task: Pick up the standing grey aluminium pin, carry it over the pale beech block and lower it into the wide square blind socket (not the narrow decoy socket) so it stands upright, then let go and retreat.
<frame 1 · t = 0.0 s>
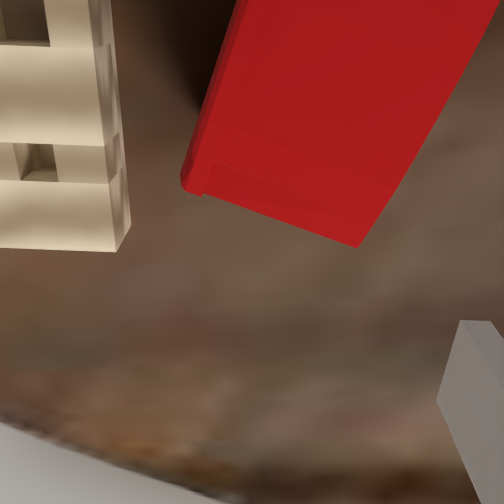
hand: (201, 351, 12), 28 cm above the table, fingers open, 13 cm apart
fire alarm: (306, 44, 35), on the table
bore block: (51, 78, 36), on the table
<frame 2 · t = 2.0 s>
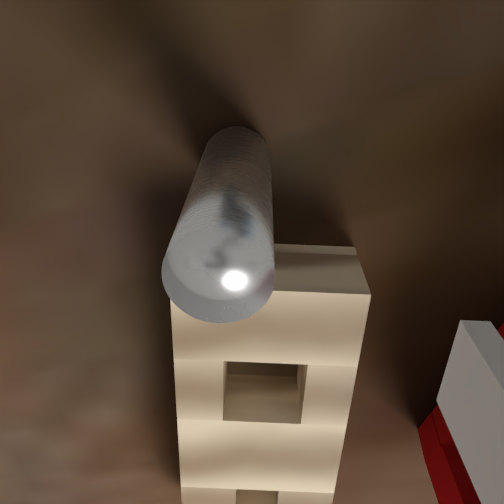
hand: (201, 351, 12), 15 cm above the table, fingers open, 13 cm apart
pin: (237, 159, 26), on the table
bore block: (260, 393, 34), on the table
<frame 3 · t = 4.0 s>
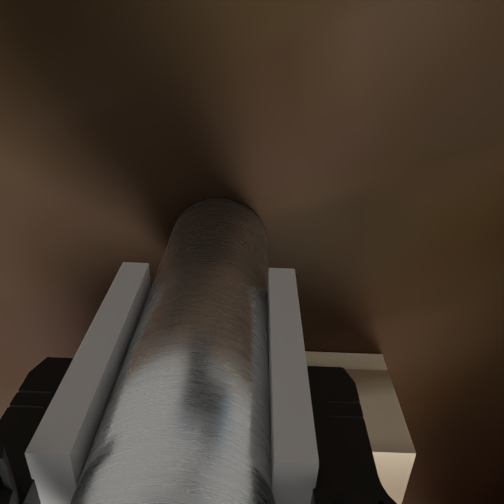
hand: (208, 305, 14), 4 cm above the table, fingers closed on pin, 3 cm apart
pin: (219, 243, 18), on the table, touching gripper
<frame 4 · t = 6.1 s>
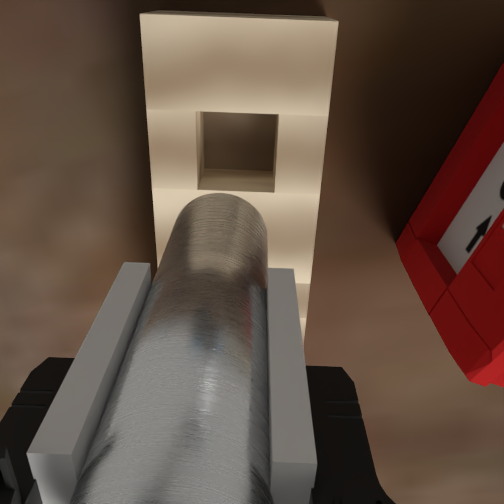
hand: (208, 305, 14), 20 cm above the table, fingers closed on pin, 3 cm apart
pin: (220, 236, 18), point 15 cm above the table, touching gripper
bore block: (238, 200, 34), on the table
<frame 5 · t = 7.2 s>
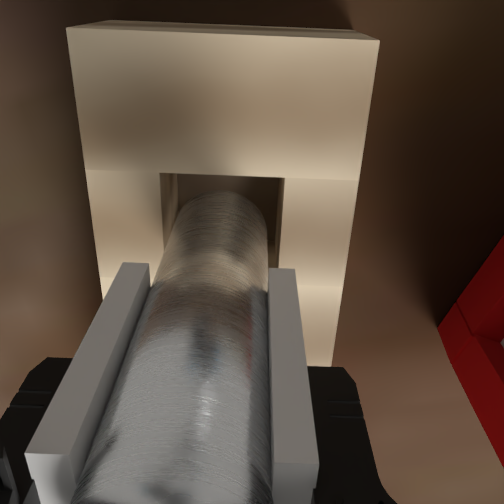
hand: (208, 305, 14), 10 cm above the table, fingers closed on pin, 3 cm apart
pin: (220, 233, 19), point 5 cm above the table, touching gripper
bore block: (228, 274, 25), on the table
when the fingers open (7 cm above the table, at t = 8.3 s): pin drops 1 cm, resting on bore block.
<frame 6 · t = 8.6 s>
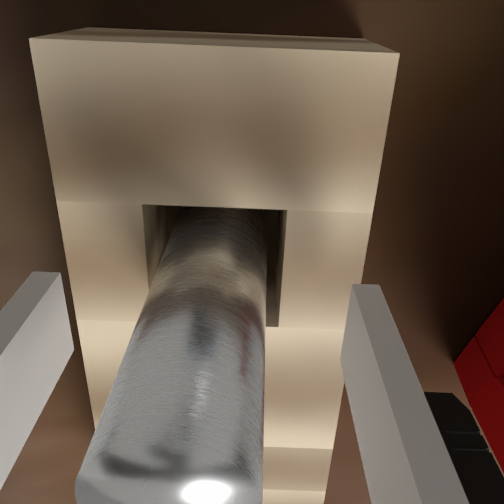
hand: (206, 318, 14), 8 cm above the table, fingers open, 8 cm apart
pin: (223, 221, 20), point 1 cm above the table, touching bore block
bore block: (223, 306, 23), on the table
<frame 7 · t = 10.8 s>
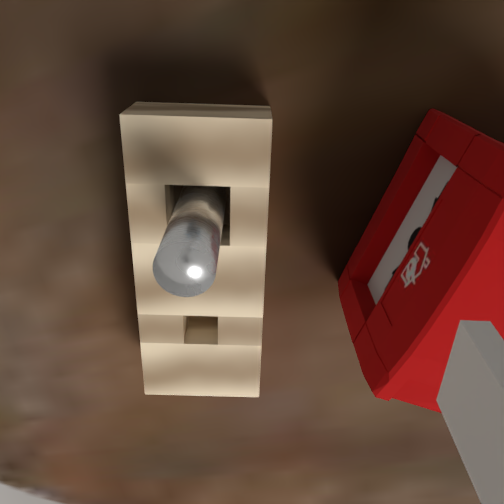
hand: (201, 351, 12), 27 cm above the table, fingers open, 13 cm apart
pin: (203, 197, 38), point 1 cm above the table, touching bore block
fire alarm: (431, 221, 40), on the table
bore block: (205, 248, 41), on the table
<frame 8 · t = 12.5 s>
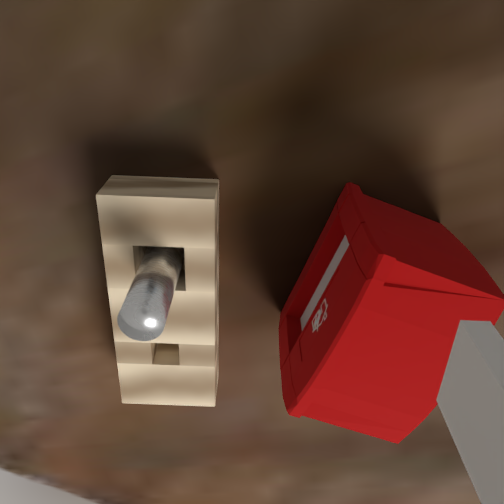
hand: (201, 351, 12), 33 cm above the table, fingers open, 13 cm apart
pin: (167, 248, 47), point 1 cm above the table, touching bore block
fire alarm: (354, 266, 49), on the table
bore block: (171, 285, 50), on the table
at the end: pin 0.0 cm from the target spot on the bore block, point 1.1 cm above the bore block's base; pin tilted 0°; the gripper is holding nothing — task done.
